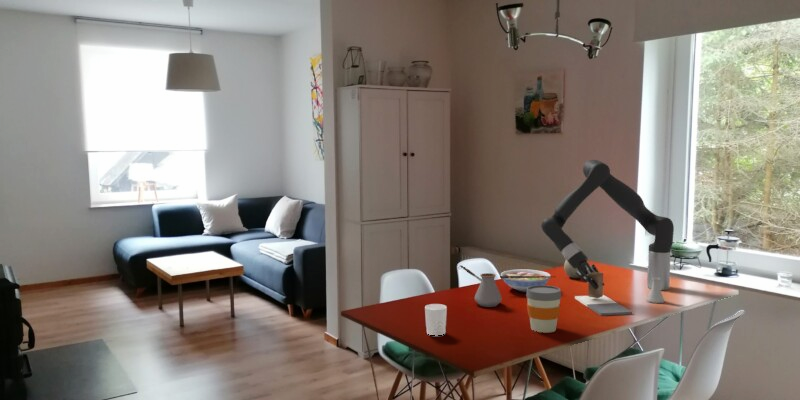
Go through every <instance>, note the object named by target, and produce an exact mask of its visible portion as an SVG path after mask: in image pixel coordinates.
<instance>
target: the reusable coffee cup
mask: <svg viewBox="0 0 800 400" xmlns="http://www.w3.org/2000/svg"><path fill="white" fill-rule="evenodd" d="M561 291H562V290H561V288H559V287H558V286H553V285H547V284H545V285H535V286H530V287H528V288H527V292H525V293H526V295H525V297H526V299H527V303H526V308H527V315H528V316H529V323H530V329H531V330H532V331H533V330H534V331H533V332H536V331H537V332H536V333H542V332H543V333H544V334H545V333H547V334H548V333H553V332H555V331H556V330H557V322H558V318H559V317H560V310H561V304H560V303H561V298H562V292H561ZM543 333H542V334H543Z"/></svg>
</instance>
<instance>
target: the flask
mask: <svg viewBox="0 0 800 400" xmlns="http://www.w3.org/2000/svg"><path fill="white" fill-rule="evenodd" d="M652 280H653V284H652V288H651V289H650V290H649V293H648V295H647V299H646V302H648V303H651V304H652V303H653V304H665V298H664V295H663V293H662V290H661V289H660V285H659V280H660V278H652Z"/></svg>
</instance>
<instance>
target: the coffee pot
mask: <svg viewBox="0 0 800 400" xmlns="http://www.w3.org/2000/svg"><path fill="white" fill-rule="evenodd" d="M459 268H460V269H463V270H465V272H466V273H468V274H469V275H471V276H472V277H475V278H476V279H477V280H479V281H480V284H479V285H478V289H477V290H476V292H475V295H474V301H475V302H476V303H477V304H478V306H480V307H485V308H493V307H494V308H495V307H497V306H498V305H499V304H500V303H501V302H502V300H503V298H502V295H501V293H500V290H499V288H498V286H497V283H496V281H495V277H496V276H497V274H496V273H495V274H494V273H491V272H490V273H486V272H485V273H481V274H480V277H481V278H480V277H479V276H478V275H476V274H475V273H473V272H472V271H471V269H468V268H466V267H465V266H464V265H459Z"/></svg>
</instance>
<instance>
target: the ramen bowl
mask: <svg viewBox="0 0 800 400" xmlns="http://www.w3.org/2000/svg"><path fill="white" fill-rule="evenodd" d="M499 278H500V279H502V280H503V282H504V283H505V284H506V285H507V286H508V287H510V288H512V289H514V290H517V291H518V292H523V293H527V288H528V287H530V286H535V285H547V283H548V282H549V281H550V280H551V278H556V276H551V274H550V273H549V272H546V271H543V270H536V269H529V268H528V269H524V268H522V269H509V270H504V271H503V272H501V273H500V275H499Z"/></svg>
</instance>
